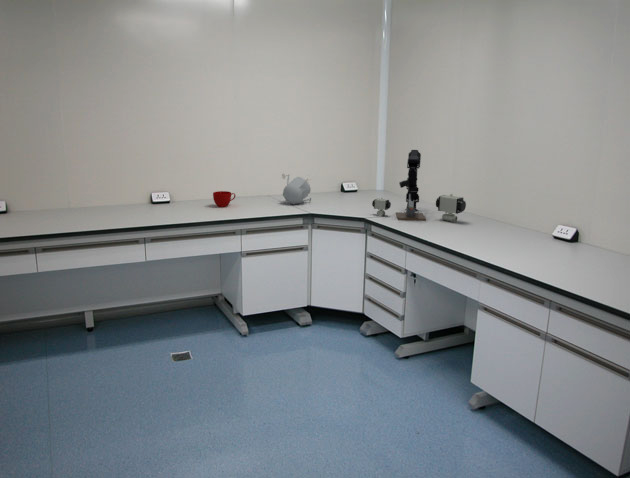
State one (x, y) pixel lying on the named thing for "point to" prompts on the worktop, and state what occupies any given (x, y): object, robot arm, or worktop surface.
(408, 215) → the post stand
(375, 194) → the worktop surface
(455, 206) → the ball valve
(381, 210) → the pneumatic valve
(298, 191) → the satellite
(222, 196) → the ceramic cup
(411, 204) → the steel post
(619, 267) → the worktop surface
